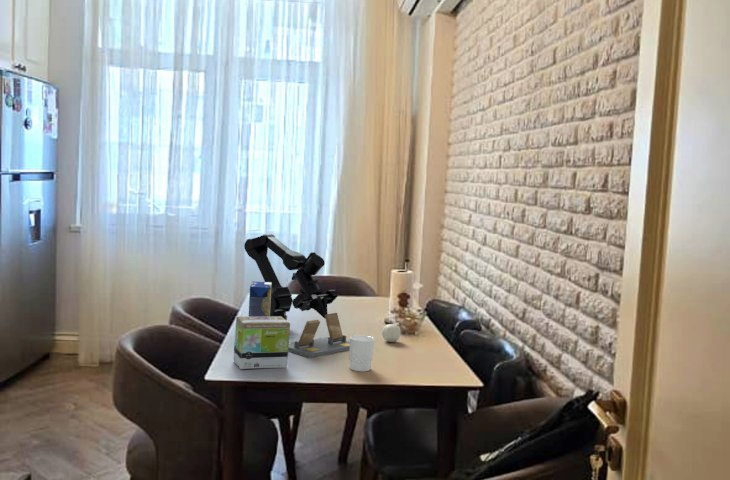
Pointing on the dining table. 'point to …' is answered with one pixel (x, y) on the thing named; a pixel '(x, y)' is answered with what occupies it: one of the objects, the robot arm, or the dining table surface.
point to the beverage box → (260, 299)
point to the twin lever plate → (319, 347)
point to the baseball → (391, 333)
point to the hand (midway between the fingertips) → (326, 317)
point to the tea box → (261, 342)
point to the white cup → (361, 352)
